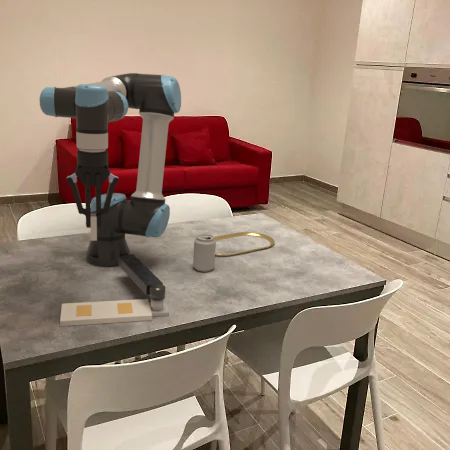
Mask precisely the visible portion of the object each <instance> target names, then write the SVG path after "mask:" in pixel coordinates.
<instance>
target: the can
mask: <svg viewBox="0 0 450 450" xmlns="http://www.w3.org/2000/svg"><path fill="white" fill-rule="evenodd" d="M214 237H215V236H214V235H212V234H210V233H209V234H208V233H200V234H197V235H196V237H195V239H194V241H193V257H192V258H193V259H192V260H193V261H192V267H193V269H195V270H196V271H198V272H203V273H204V272H205V273H206V272H208V273H209V272H211V271H212V270H214V269H215V261H216V260H215V259H216V256H215V254H216V245H217V241H215V239H214Z"/></svg>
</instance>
